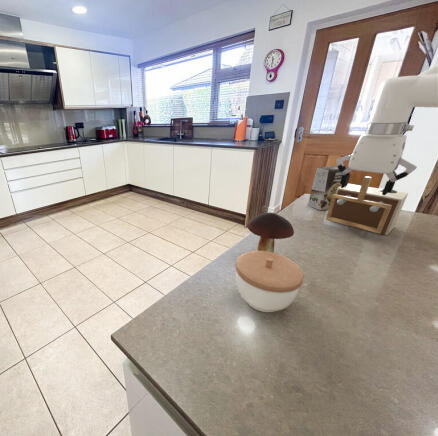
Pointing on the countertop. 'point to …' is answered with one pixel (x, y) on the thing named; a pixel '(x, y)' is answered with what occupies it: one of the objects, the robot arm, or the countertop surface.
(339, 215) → the cabinet
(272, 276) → the lidded bowl
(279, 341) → the countertop surface
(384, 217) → the wooden frame with handle
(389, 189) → the robot arm
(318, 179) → the coffee box
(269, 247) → the decorative mushroom
